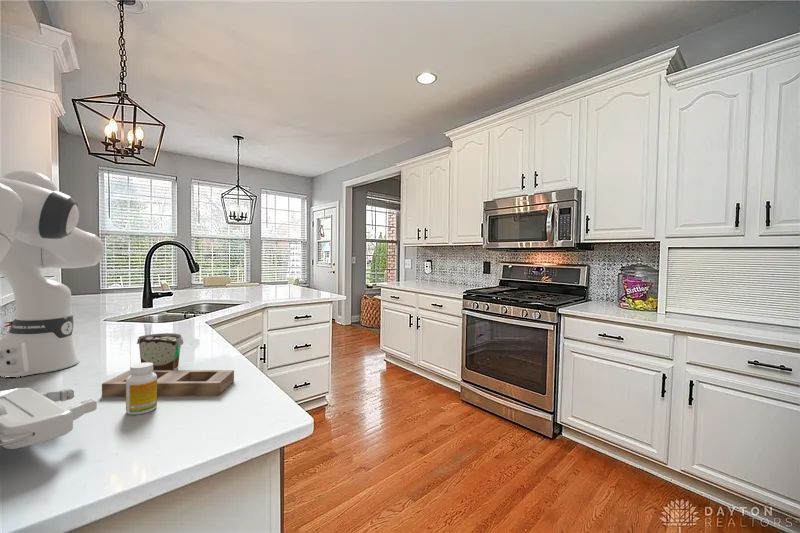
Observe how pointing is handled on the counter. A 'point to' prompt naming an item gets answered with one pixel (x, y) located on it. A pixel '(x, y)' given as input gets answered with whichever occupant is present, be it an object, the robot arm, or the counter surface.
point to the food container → (161, 350)
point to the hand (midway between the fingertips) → (83, 398)
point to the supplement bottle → (141, 389)
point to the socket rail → (177, 383)
